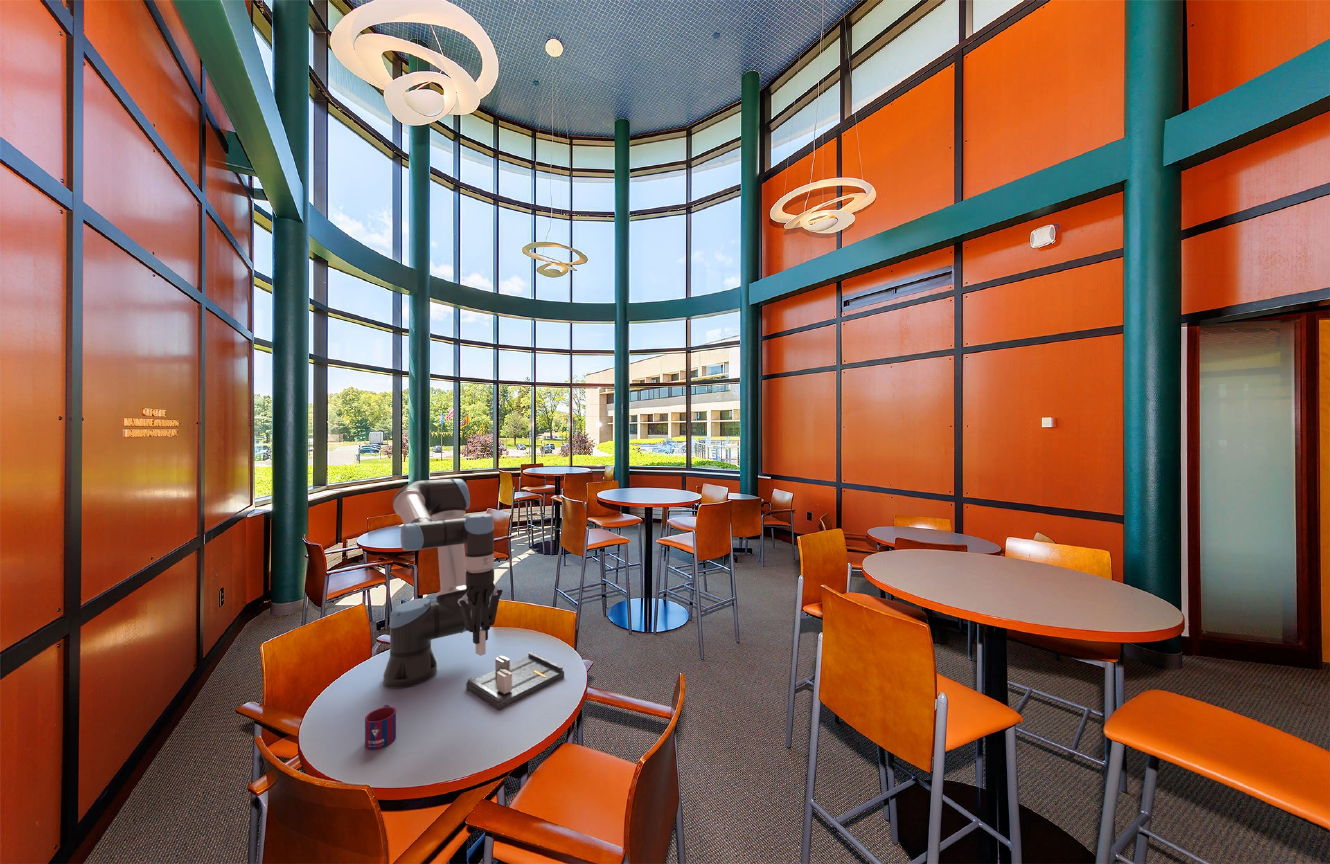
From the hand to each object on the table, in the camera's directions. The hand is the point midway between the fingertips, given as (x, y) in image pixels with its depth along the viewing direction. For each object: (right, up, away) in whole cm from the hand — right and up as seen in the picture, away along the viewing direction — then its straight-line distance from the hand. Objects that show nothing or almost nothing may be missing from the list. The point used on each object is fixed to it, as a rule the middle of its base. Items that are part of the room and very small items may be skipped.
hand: (480, 653), depth 131 cm
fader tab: (+5, -14, +6) cm, 16 cm away
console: (+6, -16, +14) cm, 22 cm away
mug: (-20, -16, -12) cm, 29 cm away
